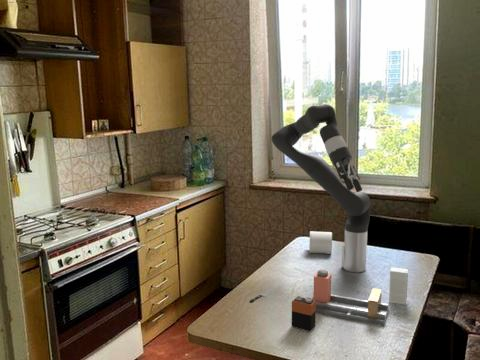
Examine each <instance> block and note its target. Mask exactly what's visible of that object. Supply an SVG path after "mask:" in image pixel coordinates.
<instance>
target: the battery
mask: <svg viewBox="0 0 480 360" xmlns="http://www.w3.org/2000/svg"><path fill="white" fill-rule="evenodd" d="M316 314H317V313H316V301H315V300H312V297H302V296H299V295H298V296H296V297H294V298H293V299H292V301H291V327H292V328H295V329H299V330H303V331H307V332H312V331H313V329H314V328H315V327H316V317H317V316H316Z"/></svg>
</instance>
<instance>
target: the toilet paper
mask: <svg viewBox="0 0 480 360" xmlns="http://www.w3.org/2000/svg"><path fill="white" fill-rule="evenodd" d="M332 247H333V232H331V231H313V230H312V231H311V230H310V231H309V253H310V254H311V253H312V254H324V253H325V254H327V255H328V254H329V255H331V254H332V252H333V249H332ZM325 254H324V255H325Z"/></svg>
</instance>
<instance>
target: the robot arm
mask: <svg viewBox="0 0 480 360" xmlns="http://www.w3.org/2000/svg"><path fill="white" fill-rule="evenodd" d="M336 113H337V112H336V110H335V108H334V106H333V105H332V104H330V103H322V104H314V105H312V106H309V107H308V108H307V109H306V111H305V113H304V114H303V115H302V116H300V117H299V118H298V119H297V120H296V121H295V122H292V123H289V124H287V125H285V126H283V127H281V128H280V129H279V130H277V131H276V132H274V133H273V134H272V136H271V142H272V144H273V145H274V146H275V148H277V150H278V151H279V152H281V153H282V154H284V155H285V157H287V158H288V159H290V160H291V161H292V162H294V163H295V164H296V165H297V166H298V167H299V168H300V169H302V171H304V172H305V173H306V174H307V175H308V176H309V177H310V178H311V179H312V180H314V182H315V183H317V184H318V186H320V187H321V188H322V189H323V190H324V191H326V192H327V194H329V195H330V196H331V197H332V198H333V199H334V200H335V202H336V203H337V204H338V206H340V207H341V208H342V209H343V210H344V211H345V212H346V214H348V215H347V219H346V221H345V224H344V243H343V245H342V249H341V252H342V253H341V267H342V268H343V269H344V270H345V271H347V272H350V273H363V272H365V271H366V269H367V250H368V249H367V247H368V229H369V224H370V218H371V199H370V197H369V195H368V194H367V193H366V192H364V191H363V187H362V186H361V183H360V180H361V177H360V175H359V174H358V172H357V170H356V168H355V166H354V165H352V164H350V162H351V160H352V159H353V155H352V154H351V152H350V149H349V147H348V145H347V143H346V141H345V139H344V138H343V136H342V134H341V131H340V130H339V129H340V128H339V127H338V121H337V114H336ZM324 123H325V124H326V125H324V126H323V127H322V128H320V130H319V135H320V138H321V140H322V142H323V144H324V148H325V150H326V154H327V155H328V157H329V159H330V162H331V164H332V166H333V167H334V168H335V170H336V171H335V170H334V168H333V167H332V166H331V165H330V164H329V163H328V162H327V161H326V160H325V159H324V158H322V157H321V156H319V155H315V154H311V153H307V152H304V151H301V150H298V149H297V148H295V147H294V145H296V144H298V142H299V140H301V138H302V137H303V135H305V134H308V133H310V132H311V131H314V130H315V129H316V128H317V127H319V125H320V124H324ZM341 180H342V181H343V182H344V183H343V182H342V181H341ZM352 190H355V191H354V192H353V191H352Z"/></svg>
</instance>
